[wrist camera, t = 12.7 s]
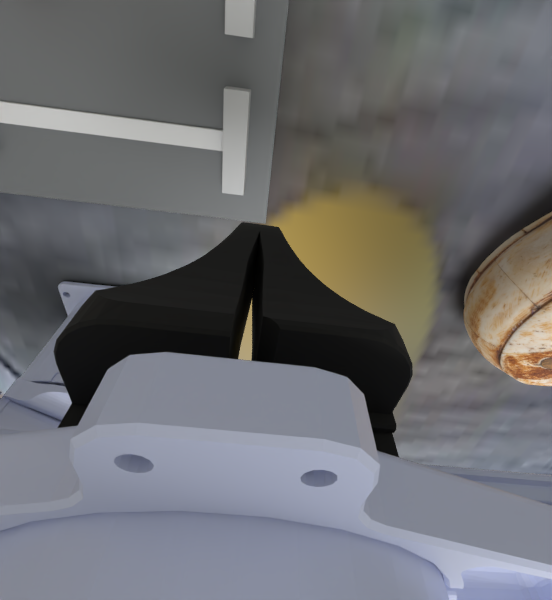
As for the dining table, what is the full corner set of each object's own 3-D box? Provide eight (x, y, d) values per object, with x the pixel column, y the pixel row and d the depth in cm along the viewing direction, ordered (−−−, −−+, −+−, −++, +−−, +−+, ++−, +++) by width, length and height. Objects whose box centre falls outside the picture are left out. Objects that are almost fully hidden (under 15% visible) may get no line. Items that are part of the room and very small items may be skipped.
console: (266, 215, 22) (264, 230, 20) (-55, 177, 21) (-86, 190, 19) (310, -203, 12) (314, -244, 10) (-299, -319, 11) (-410, -388, 9)
